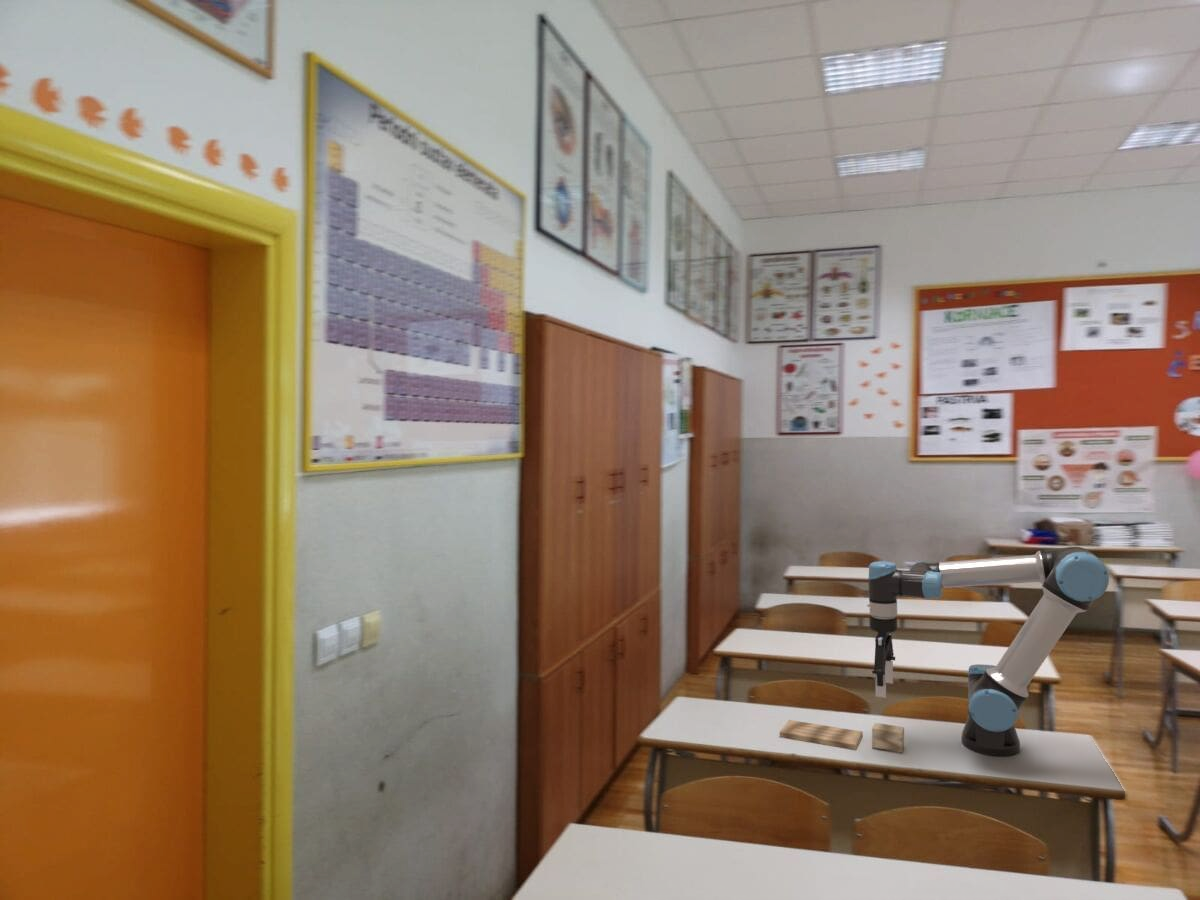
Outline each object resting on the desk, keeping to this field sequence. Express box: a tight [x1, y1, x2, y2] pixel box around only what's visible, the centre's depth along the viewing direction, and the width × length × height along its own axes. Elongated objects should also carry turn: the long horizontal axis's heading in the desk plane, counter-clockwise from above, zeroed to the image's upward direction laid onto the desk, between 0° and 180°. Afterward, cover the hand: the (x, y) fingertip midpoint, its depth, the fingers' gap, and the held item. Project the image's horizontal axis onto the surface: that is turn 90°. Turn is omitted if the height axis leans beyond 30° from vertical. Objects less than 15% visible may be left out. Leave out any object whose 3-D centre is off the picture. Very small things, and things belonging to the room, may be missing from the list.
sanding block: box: [871, 722, 905, 755], centre depth 228 cm, size 8×5×6 cm, turn 62°
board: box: [779, 719, 863, 751], centre depth 237 cm, size 22×11×2 cm, turn 62°
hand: (884, 689), depth 229 cm, fingers open, 13 cm apart
